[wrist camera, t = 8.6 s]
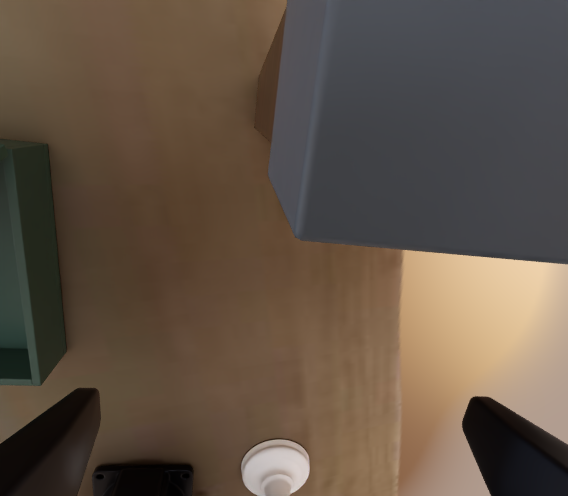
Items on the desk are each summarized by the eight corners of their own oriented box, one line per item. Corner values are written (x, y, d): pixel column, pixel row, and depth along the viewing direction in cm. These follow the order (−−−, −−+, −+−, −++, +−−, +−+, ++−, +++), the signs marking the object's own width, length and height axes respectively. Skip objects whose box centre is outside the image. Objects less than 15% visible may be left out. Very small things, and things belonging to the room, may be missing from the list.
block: (438, 197, 6) (618, 271, 3) (266, 178, 5) (293, 242, 3) (501, -39, 5) (867, -255, 2) (296, -84, 4) (392, -440, 2)
